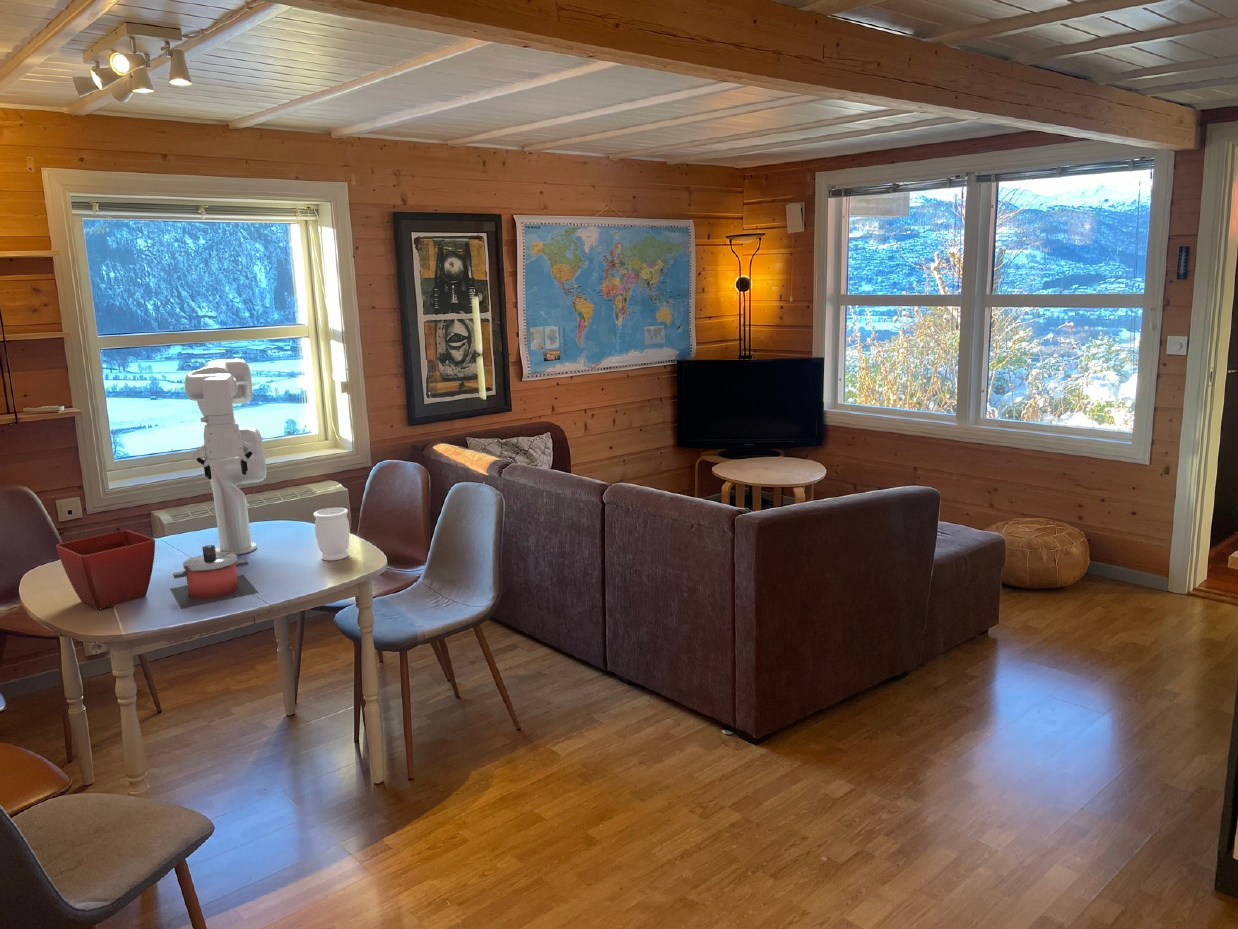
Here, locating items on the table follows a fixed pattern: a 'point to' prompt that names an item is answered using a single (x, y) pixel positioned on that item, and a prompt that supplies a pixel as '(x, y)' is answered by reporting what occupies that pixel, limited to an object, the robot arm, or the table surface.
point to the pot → (212, 581)
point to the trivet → (187, 601)
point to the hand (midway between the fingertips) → (226, 476)
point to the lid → (209, 560)
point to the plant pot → (109, 567)
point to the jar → (332, 533)
